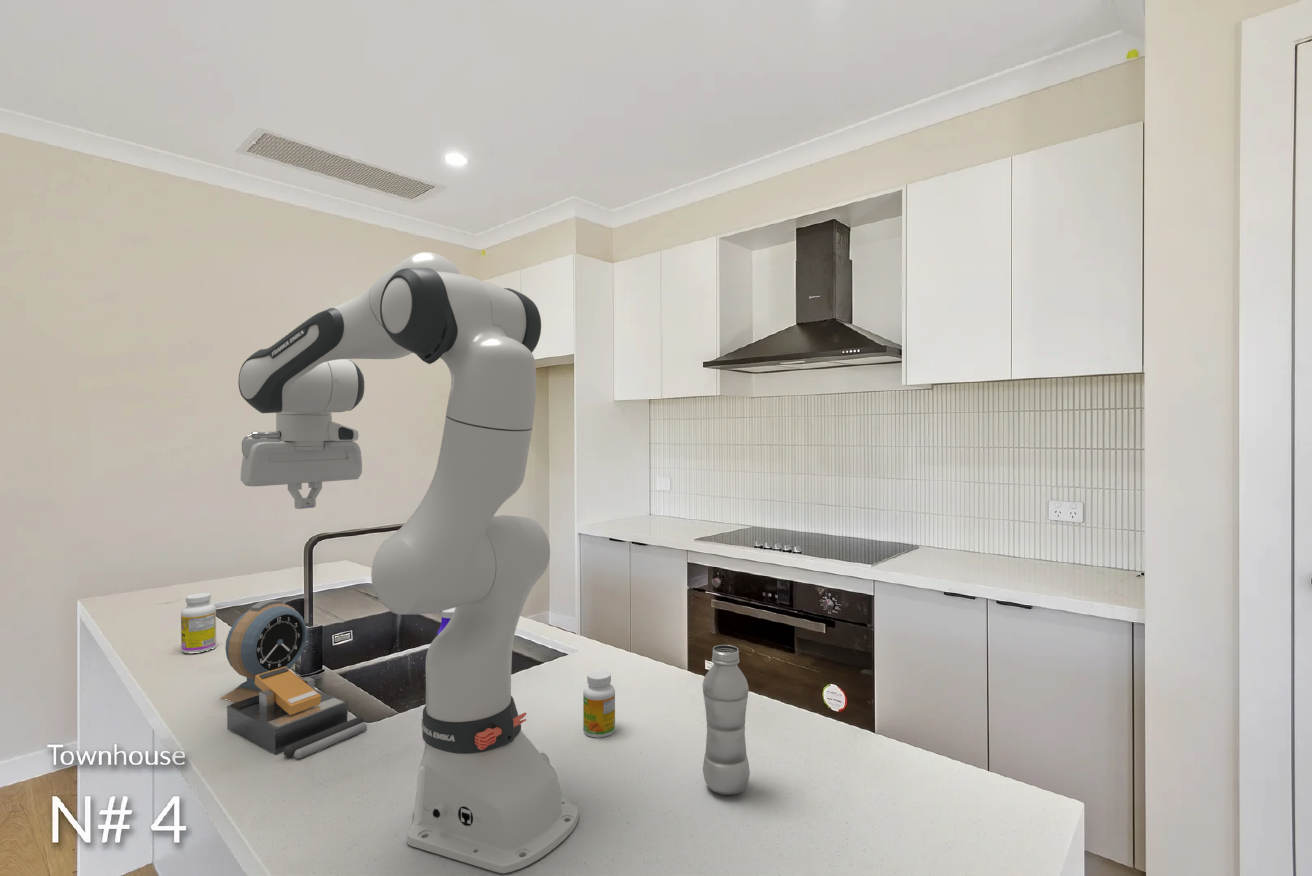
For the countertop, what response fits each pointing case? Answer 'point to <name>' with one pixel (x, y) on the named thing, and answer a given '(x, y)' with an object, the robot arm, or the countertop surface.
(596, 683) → the supplement bottle
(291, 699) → the orange striped box
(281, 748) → the dark grey block
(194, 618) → the supplement bottle
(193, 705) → the countertop surface
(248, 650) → the alarm clock
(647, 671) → the countertop surface
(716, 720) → the plastic bottle
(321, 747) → the grey rounded bar
